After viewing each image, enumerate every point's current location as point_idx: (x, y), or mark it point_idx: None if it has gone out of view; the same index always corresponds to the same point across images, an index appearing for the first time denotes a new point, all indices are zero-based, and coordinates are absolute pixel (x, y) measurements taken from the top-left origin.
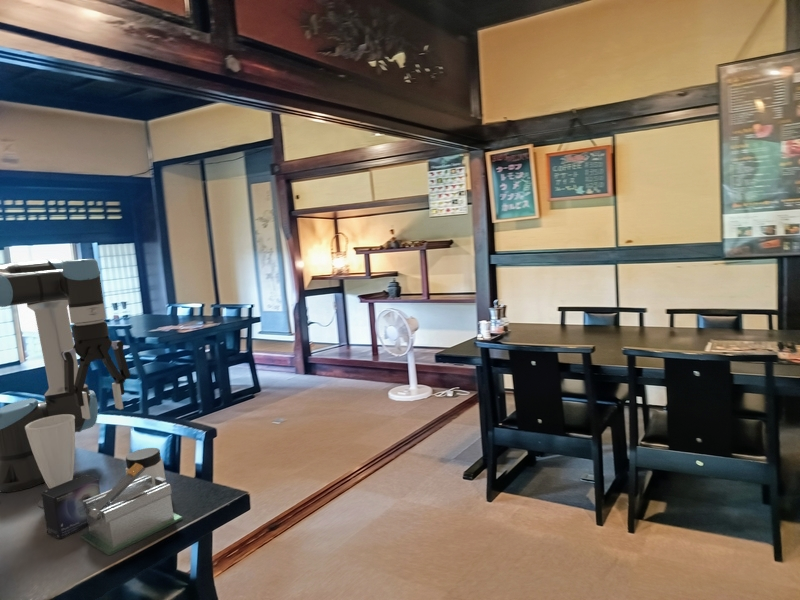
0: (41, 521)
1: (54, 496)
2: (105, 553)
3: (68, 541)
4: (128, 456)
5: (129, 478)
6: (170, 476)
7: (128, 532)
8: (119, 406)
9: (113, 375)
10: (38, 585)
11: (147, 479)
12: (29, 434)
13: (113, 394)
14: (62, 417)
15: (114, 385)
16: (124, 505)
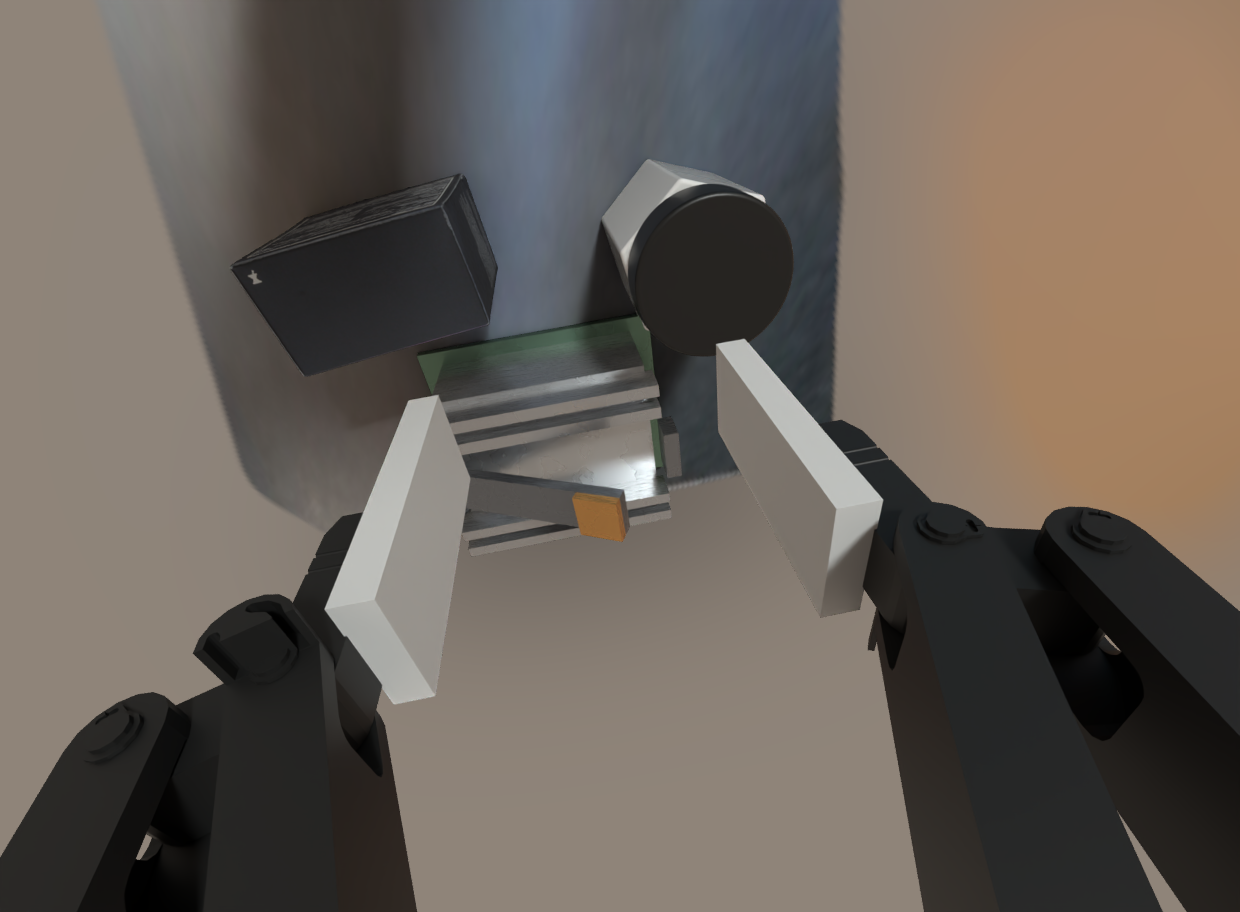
0: (257, 37)
1: (305, 369)
2: None
3: None
4: (656, 253)
5: (571, 516)
6: (816, 76)
7: None
8: (726, 436)
9: (907, 692)
10: (320, 505)
11: (644, 419)
12: None
13: (767, 416)
14: None
15: (817, 552)
16: (527, 544)
